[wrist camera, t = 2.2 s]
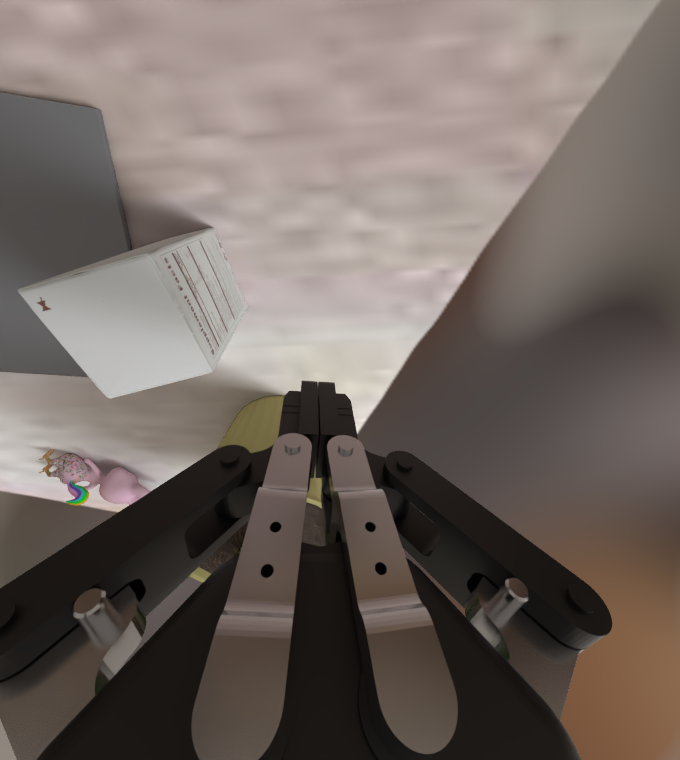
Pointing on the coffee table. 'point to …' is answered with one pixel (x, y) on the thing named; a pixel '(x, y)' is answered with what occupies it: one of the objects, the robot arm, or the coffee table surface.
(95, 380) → the supplement box
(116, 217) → the mat
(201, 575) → the potted cactus
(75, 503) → the pink unicorn figurine
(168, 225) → the coffee table surface
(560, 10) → the coffee table surface
